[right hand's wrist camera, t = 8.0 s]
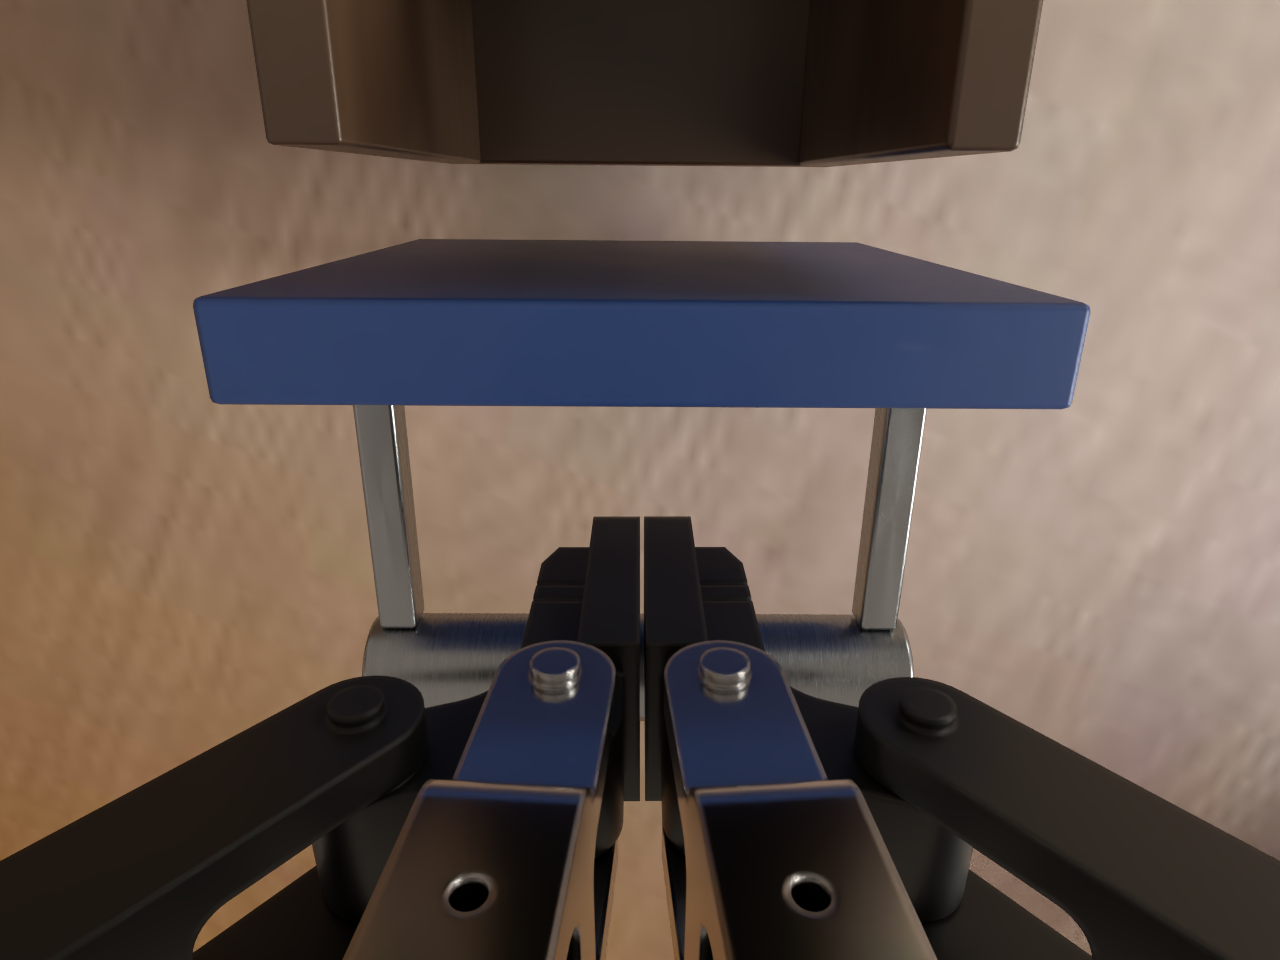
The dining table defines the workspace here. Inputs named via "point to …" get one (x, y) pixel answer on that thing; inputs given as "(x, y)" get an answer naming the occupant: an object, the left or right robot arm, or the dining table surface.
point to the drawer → (642, 261)
